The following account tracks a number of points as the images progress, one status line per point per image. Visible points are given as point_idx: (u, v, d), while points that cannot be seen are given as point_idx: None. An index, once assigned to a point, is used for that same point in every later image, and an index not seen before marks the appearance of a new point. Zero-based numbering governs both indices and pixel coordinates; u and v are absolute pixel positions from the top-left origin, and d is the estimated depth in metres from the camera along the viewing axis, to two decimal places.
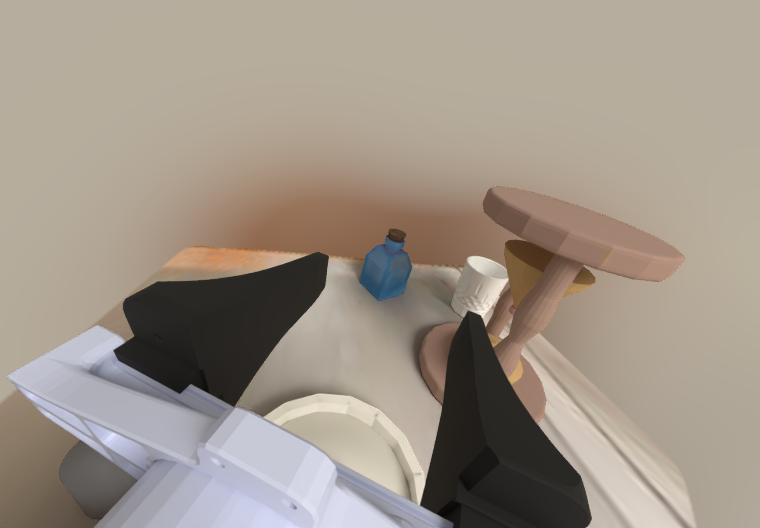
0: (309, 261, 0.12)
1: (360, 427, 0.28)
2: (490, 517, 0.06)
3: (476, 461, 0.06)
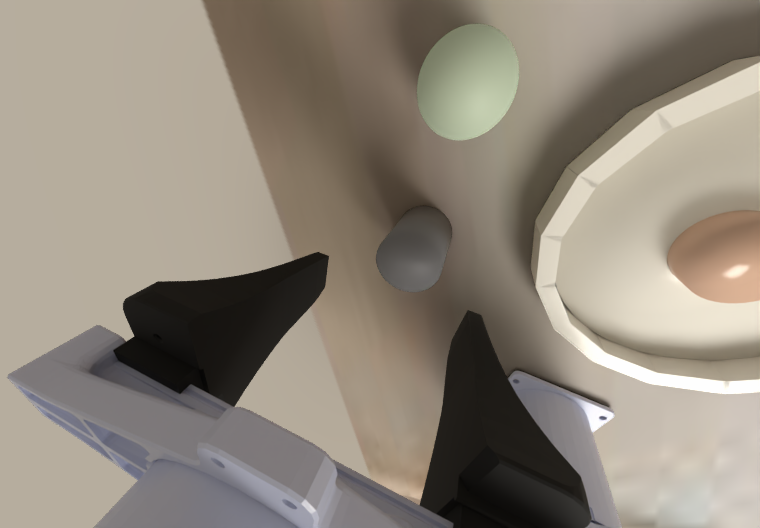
0: (309, 261, 0.12)
1: None
2: (490, 517, 0.06)
3: (476, 462, 0.06)
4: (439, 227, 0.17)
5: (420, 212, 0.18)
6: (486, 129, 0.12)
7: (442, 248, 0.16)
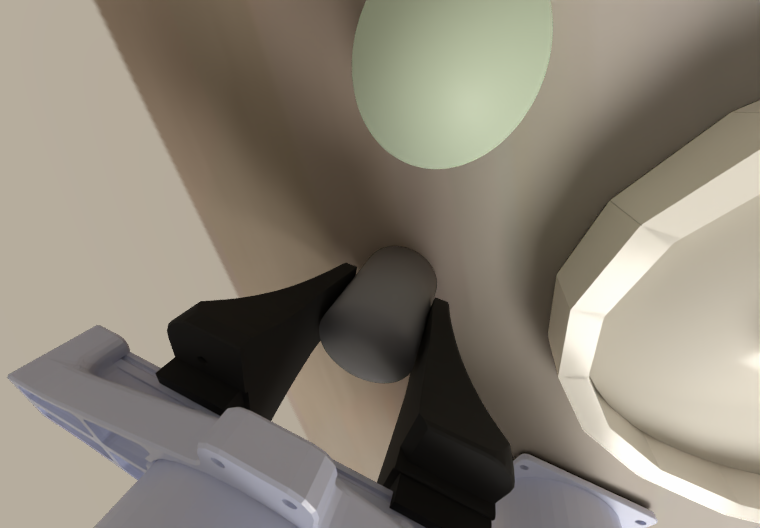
0: (340, 273, 0.12)
1: None
2: (426, 484, 0.06)
3: (412, 431, 0.06)
4: (414, 285, 0.12)
5: (389, 259, 0.13)
6: (483, 150, 0.06)
7: (417, 324, 0.10)
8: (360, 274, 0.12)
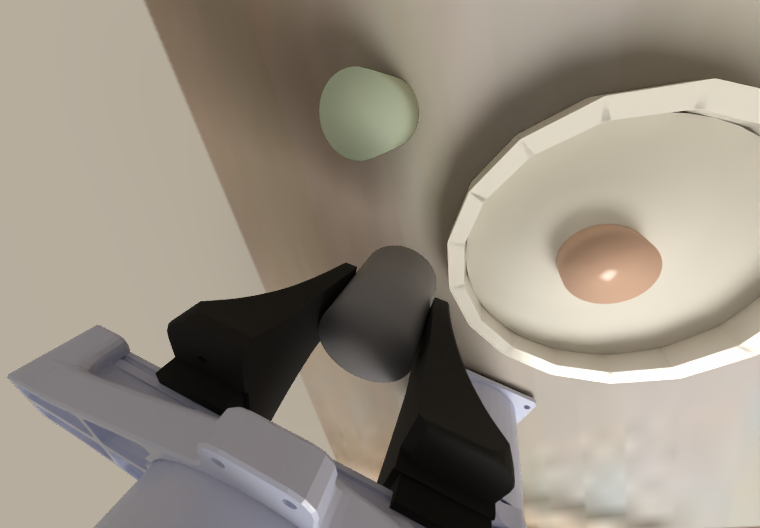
0: (340, 273, 0.12)
1: (712, 137, 0.12)
2: (426, 484, 0.06)
3: (412, 430, 0.06)
4: (413, 285, 0.12)
5: (389, 258, 0.13)
6: (377, 152, 0.14)
7: (416, 323, 0.10)
8: (360, 273, 0.12)
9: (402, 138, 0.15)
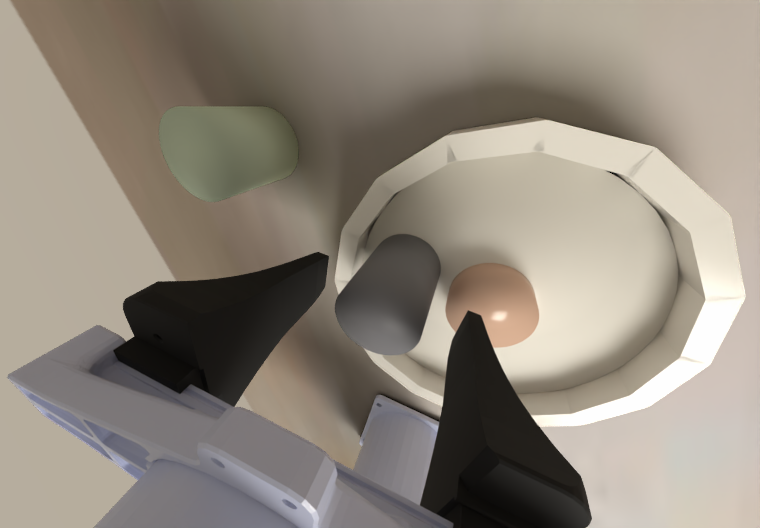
0: (309, 261, 0.12)
1: (572, 177, 0.11)
2: (490, 517, 0.06)
3: (477, 462, 0.06)
4: (421, 267, 0.13)
5: (398, 244, 0.14)
6: (224, 194, 0.13)
7: (424, 300, 0.12)
8: (371, 257, 0.13)
9: (270, 173, 0.14)
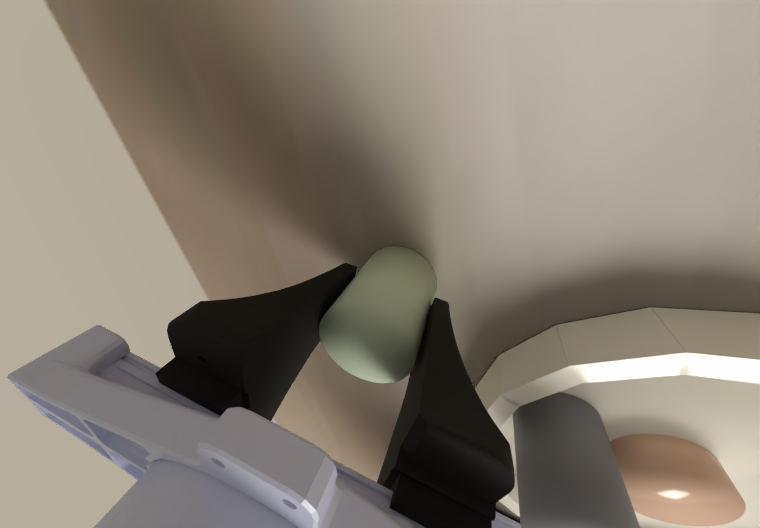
0: (340, 273, 0.12)
1: None
2: (426, 484, 0.06)
3: (412, 430, 0.06)
4: (613, 462, 0.11)
5: (571, 420, 0.12)
6: (391, 381, 0.11)
7: (637, 520, 0.10)
8: (548, 442, 0.12)
9: None
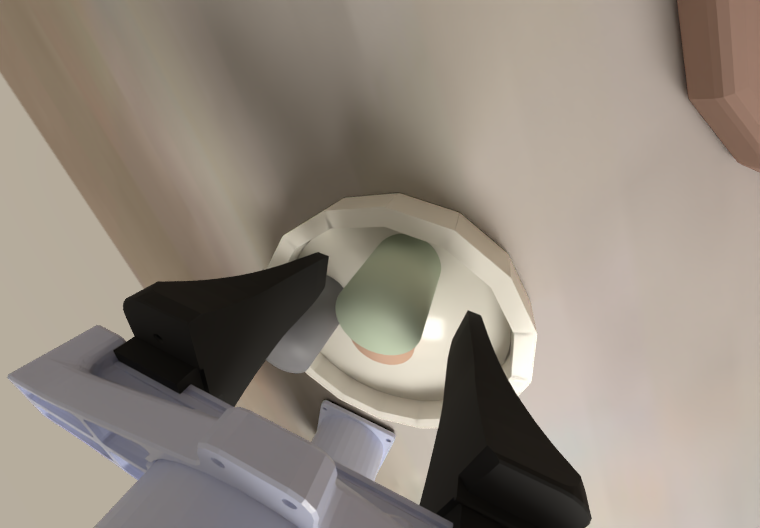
0: (309, 261, 0.12)
1: None
2: (490, 517, 0.06)
3: (476, 461, 0.06)
4: (320, 304, 0.16)
5: None
6: (400, 352, 0.12)
7: (315, 332, 0.15)
8: None
9: None
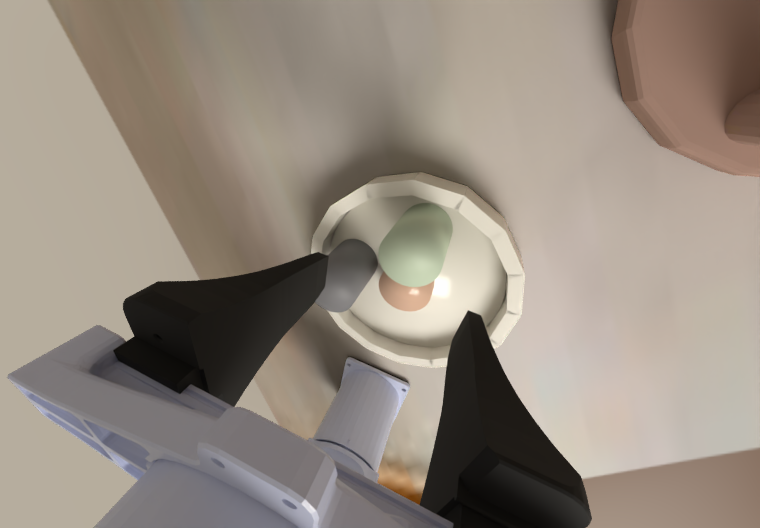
0: (309, 261, 0.12)
1: None
2: (490, 517, 0.06)
3: (476, 461, 0.06)
4: (358, 259, 0.21)
5: (346, 245, 0.22)
6: (425, 283, 0.17)
7: (356, 278, 0.20)
8: (329, 253, 0.22)
9: None
